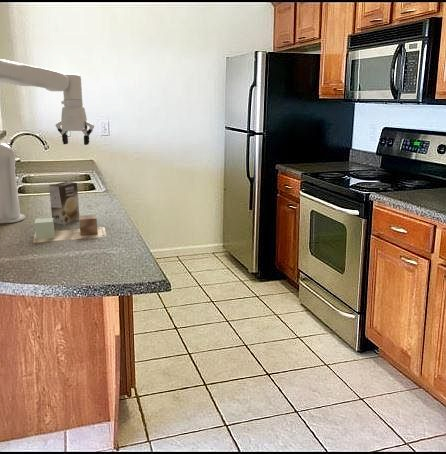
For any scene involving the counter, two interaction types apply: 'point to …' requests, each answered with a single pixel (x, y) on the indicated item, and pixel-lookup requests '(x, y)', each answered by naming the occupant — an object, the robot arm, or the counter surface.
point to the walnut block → (88, 225)
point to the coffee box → (64, 202)
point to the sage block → (44, 228)
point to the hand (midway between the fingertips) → (76, 144)
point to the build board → (71, 235)
